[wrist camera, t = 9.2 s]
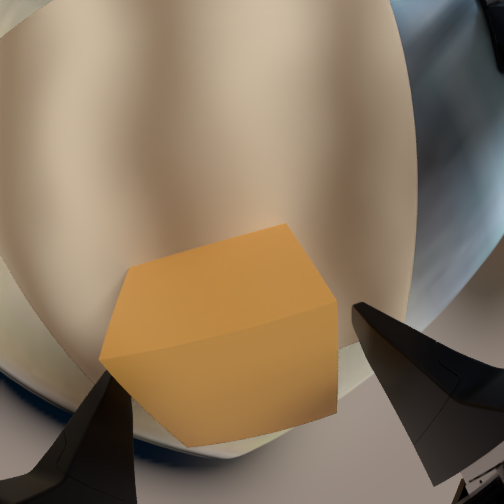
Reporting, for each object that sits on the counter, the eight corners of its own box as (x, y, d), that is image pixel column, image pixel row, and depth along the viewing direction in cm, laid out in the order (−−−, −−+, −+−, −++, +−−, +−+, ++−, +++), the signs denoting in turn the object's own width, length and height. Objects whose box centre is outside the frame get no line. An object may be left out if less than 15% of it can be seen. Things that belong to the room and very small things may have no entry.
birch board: (351, -42, 6) (417, -83, 2) (391, 306, 15) (435, 364, 11) (-30, 85, 6) (-102, 98, 1) (113, 381, 15) (103, 448, 11)
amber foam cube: (285, 222, 10) (336, 301, 6) (304, 335, 13) (336, 413, 9) (129, 267, 10) (98, 359, 6) (185, 366, 13) (187, 447, 9)
